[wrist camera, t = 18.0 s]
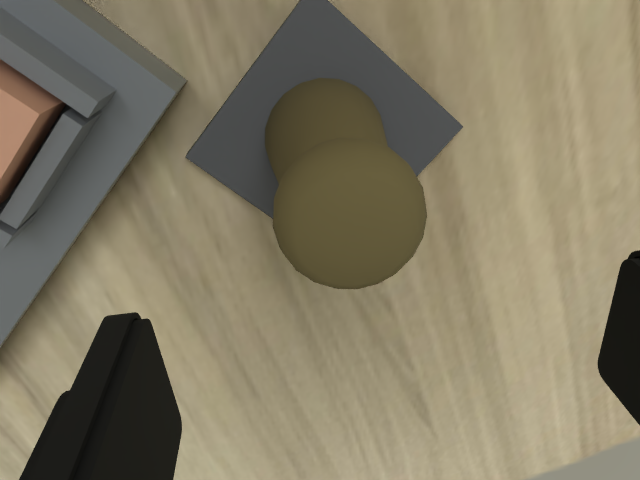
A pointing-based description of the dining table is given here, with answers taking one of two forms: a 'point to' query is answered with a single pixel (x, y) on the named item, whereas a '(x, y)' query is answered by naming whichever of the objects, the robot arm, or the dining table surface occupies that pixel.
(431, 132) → the rubber mat
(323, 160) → the brown pawn
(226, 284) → the dining table surface
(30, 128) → the salmon square block
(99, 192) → the frame
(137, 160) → the dining table surface
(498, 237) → the dining table surface
